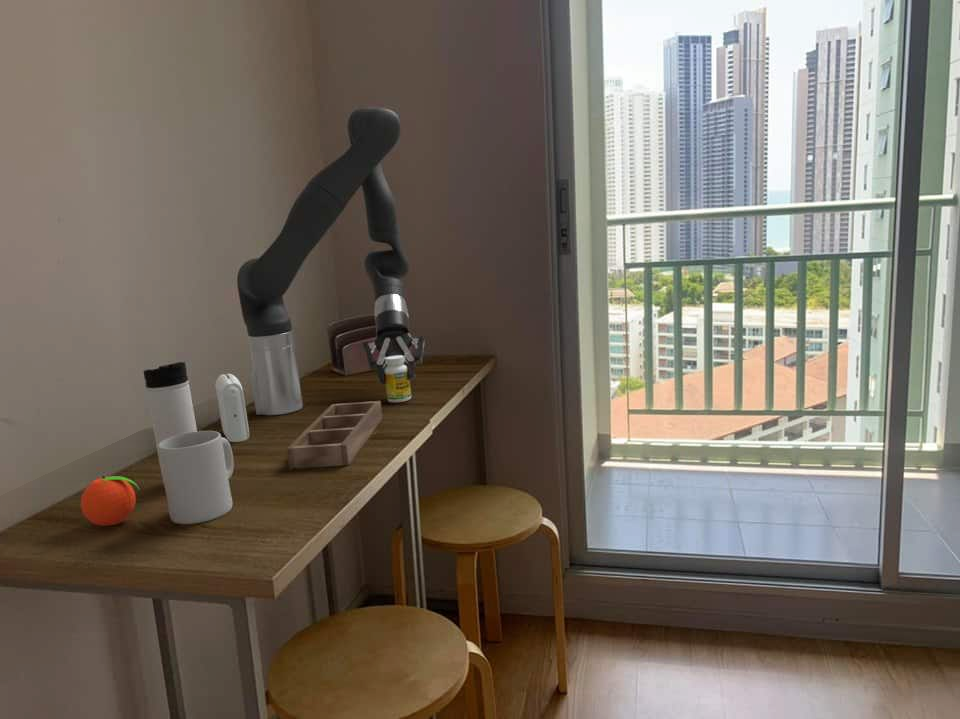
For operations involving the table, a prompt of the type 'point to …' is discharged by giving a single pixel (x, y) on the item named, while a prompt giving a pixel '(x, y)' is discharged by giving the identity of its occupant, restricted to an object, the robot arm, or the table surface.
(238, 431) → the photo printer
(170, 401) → the travel mug
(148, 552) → the table surface
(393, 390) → the supplement bottle
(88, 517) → the clementine
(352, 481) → the table surface
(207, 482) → the mug
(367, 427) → the compartment tray
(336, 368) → the letter holder
